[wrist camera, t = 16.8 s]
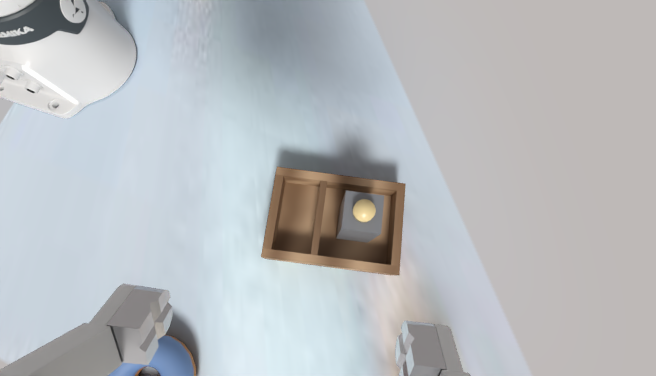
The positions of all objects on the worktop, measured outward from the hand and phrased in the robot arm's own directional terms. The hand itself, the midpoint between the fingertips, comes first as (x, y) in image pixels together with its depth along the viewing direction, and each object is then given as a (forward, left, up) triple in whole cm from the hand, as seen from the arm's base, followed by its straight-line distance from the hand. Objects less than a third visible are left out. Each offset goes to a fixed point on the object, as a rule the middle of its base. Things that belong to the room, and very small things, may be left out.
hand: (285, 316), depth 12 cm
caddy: (+2, +8, -31) cm, 32 cm away
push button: (+5, +8, -30) cm, 32 cm away
